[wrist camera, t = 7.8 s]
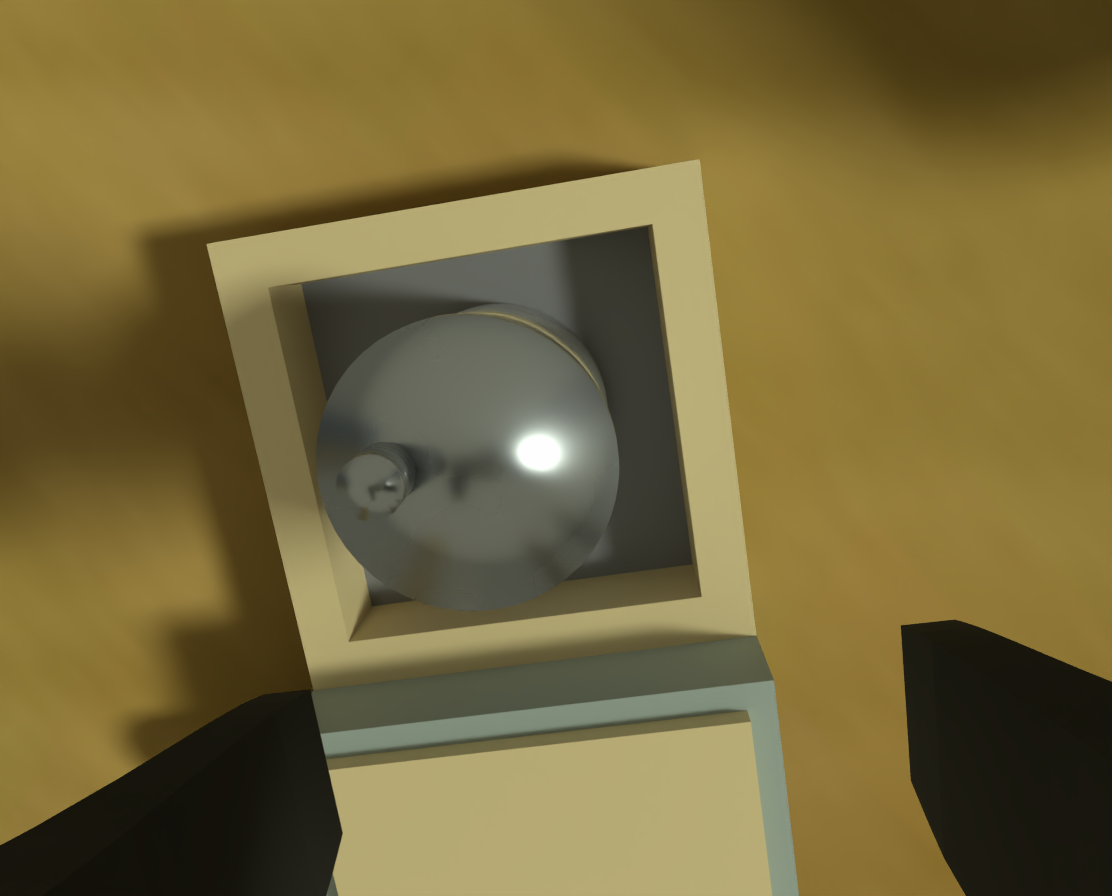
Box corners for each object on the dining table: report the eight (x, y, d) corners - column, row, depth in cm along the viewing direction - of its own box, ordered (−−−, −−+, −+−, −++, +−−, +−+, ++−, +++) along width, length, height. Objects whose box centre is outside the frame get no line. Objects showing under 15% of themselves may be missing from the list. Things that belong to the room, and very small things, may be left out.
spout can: (606, 291, 18) (612, 308, 12) (617, 509, 19) (629, 630, 13) (383, 305, 19) (274, 330, 12) (405, 519, 20) (315, 643, 13)
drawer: (686, 171, 18) (714, 144, 14) (763, 796, 21) (807, 948, 17) (128, 266, 19) (-22, 272, 15) (279, 847, 23) (195, 1003, 18)
